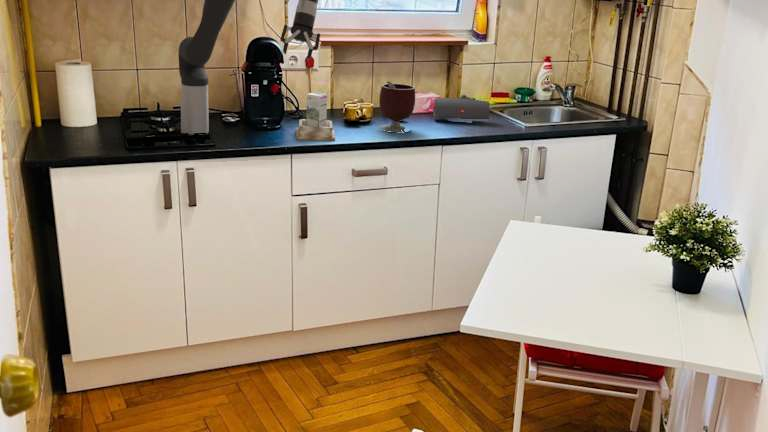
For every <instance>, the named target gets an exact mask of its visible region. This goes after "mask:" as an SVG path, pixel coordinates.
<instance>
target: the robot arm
mask: <svg viewBox="0 0 768 432" xmlns="http://www.w3.org/2000/svg"><path fill="white" fill-rule="evenodd" d="M235 1H236V0H204V3H203V8H202V15H201V20H200V23H199V25H198V27H197V29H196V31H195V33H194V35H193V36H187V37H185V38H183V40H181V42H180V44H179V46H178V73H179V76H180V83H181V106H180V134H186V133H188V134H187V135H194V133H206V134H208V133H209V130H210V129H209V128H210V127H209V126H210V124H209V123H210V122H209V121H210V120H209V77H208V75H207V73H206V66H205V65H206V64H207V63H208V62H209V61H210V58H211V57H212V54H213V51H214V48H215V45H216V42H217V40H218V37H219V34H220V32H221V30H222V27H223V26H224V24H225V22H226V19H227V18H228V16H229V13H230V11H231V10H232V7H233V5H234V3H235ZM318 3H319V0H298V3H297V5H296V8H295V9H296V10H295V14H294V19H293V22H292V26H289V25H288V24H284V25H283V28H282V32H281V36H280V39H279V41H280V42H281V43H283V47H282V53H283V54H284V55H287V52H288V47H289V43H291V42H292V41H294V40H295V41H296V42H300V43H306V45H307V48H308V52H307V56H306V61H309V60H311V58H312V55H313V51H318V49H319V47H320V46H319V44H320V39H321V34H320V33H315V32H313V30H314V25H315V20H316V16H317V10H318ZM289 31H290V33H291V35H290V36H289V37H287V38H285V37H286V33H288V32H289ZM312 37H313V39H314V40H315V42H314V45H313V44H312V41H311V38H312Z"/></svg>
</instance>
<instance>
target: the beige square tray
mask: <svg viewBox="0 0 768 432" xmlns="http://www.w3.org/2000/svg"><path fill="white" fill-rule="evenodd" d="M298 125H299V127H296V129H295V130H296V131H295V132H296V135H295V139H296V140H311V141H312V140H313V141H331V140H335V141H336V136H335V129H334V128H333V121H332V120H327V119H326V127H318V126H306V118H303V119H300V118H299V123H298Z"/></svg>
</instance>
